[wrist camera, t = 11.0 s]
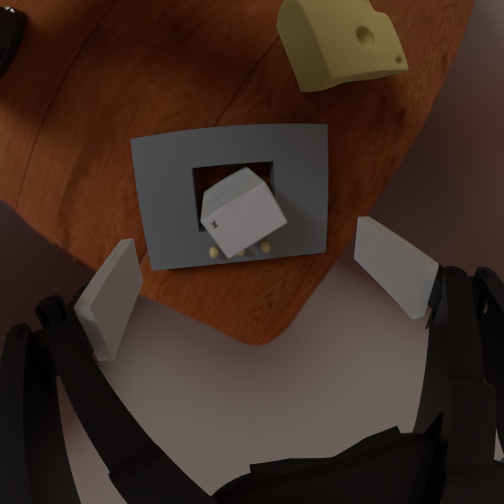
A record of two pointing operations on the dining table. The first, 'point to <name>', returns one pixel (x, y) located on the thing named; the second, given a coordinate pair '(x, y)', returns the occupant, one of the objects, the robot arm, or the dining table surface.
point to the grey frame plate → (221, 153)
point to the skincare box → (240, 211)
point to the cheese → (338, 42)
